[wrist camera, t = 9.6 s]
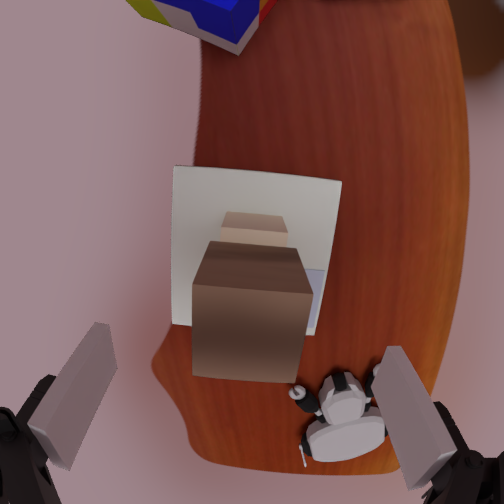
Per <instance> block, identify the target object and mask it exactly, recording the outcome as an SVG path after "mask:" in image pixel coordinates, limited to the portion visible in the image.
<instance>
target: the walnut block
mask: <svg viewBox="0 0 504 504" xmlns="http://www.w3.org/2000/svg"><path fill="white" fill-rule="evenodd" d="M313 295H314V294H313V291H312V288H311V285H310V283H309V280H308V277H307V275H306V272H305V269H304V267H303V264H302V262H301V259H300V256H299V254H298V251H297V248H289V247H277V246H266V245H255V244H243V243H232V242H220V241H210V242H209V244H208V247H207V249H206V251H205V254H204V256H203V259H202V261H201V263H200V266H199V268H198V271H197V273H196V275H195V278H194V280H193V283H192V375H193V376H201V377H210V378H220V379H231V380H243V381H258V382H277V383H295V380H296V375H297V371H298V367H299V362H300V358H301V353H302V349H303V344H304V340H305V335H306V330H307V325H308V321H309V316H310V311H311V306H312V300H313Z"/></svg>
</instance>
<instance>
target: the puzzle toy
mask: <svg viewBox="0 0 504 504" xmlns="http://www.w3.org/2000/svg"><path fill="white" fill-rule="evenodd" d="M126 1H127V2H128V3H129V4H130V5H131V6H132V7H133V8H134V9H135V10H136V11H137V12H138V13H139V14H140V15H141V16H142V17H143V18H146V19H150V20H152V21H155V22H158V23H161V24H164V25H167V26H169V27H172V28H175V29H177V30H180V31H183V32H185V33H187V34H190V35H193V36H195V37H197V38H200V39H202V40H205V41H207V42H209V43H212V44H214V45H216V46H218V47H221V48H223V49H225V50H227V51H229V52H231V53H234V54H236V55H238V56H239V55H240V53H241V52H242V50H243V49H244V47H245V46H246V44H247V43H248V41H249V40H250V38H251V37H252V35H253V34H254V32H255V31H256V30H257V28H258V27H259V25H260V24H261V22H262V21H263V20H264V18H265V17H266V16H267V14H268V13H269V11H270V10H271V9H272V7H273V6H274V5H275V3H276V2H277V1H278V0H126Z"/></svg>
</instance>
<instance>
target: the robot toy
mask: <svg viewBox="0 0 504 504" xmlns="http://www.w3.org/2000/svg"><path fill="white" fill-rule="evenodd" d="M379 366H380V363H379V364H376V366H375V367H374V369H373V372H370V373H369V376H368V378H367V380H366V382H365V393H366V395H365V393H364V391H363V389H362V386H361V384H360V382H359V381H358V380H357V379H355V378H354V377H353V375H352V374H351V373H350V372H344V374H345V375H344V374H343V373H336V374H335V375H334V376H333V380H332V377H331V375H330V376H329V377H328V378H326V379H325V381H324V384H323V387H322V388H321V389H320V391H319V395H318V396H319V401H320V405H321V409H320V408H319V406H318V401H317V399H316V398H315V396H314V395H313V394H311V393H310V392H309V391H308V390H307V389H306V390H305V388H303V387H302V386H300V385H296V386H295V387H294V389H295V390H296V391H295V390H293V389H292V388H291V389H290V390H289V395H290V397H291V398H293V399H295V402H296V404H297V405H298V406H299V407H300V408H301V409H302V410H303V411H305V412H307V413H315V414H316V419H317V420H316V421H315V422H313V423H312V424H311V425H309V426H308V429H307V432H306V433H304V434H303V436H302V439H301V443H300V444H299V448H300V449H301V453H302V457H303V461H304V466H305V467H306V462H305V458H304V454H303V452H305V453H306V454H307V456H312V457H313V458H314V460H317V461H321V462H334V461H341V460H347V459H351V458H354V457H357V456H360V455H362V454H365V453H367V452H369V451H371V450H373V449H375V448H377V447H378V446H379V445H380V444H381V443H382V442H384V438H385V437H386V436H387V435H388V431H387V428H386V425H385V423H384V420H383V417H382V415H381V412H380V410H379V409H378V408H377V407H372V406H371V402H370V400H371V398H372V397H374V394H373V391H372V389H371V385H372V383H373V381H374V378H375V376H376V374H377V371H378V369H379ZM345 377H346V378H345ZM391 443H392V442H391ZM302 449H303V450H302Z"/></svg>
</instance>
